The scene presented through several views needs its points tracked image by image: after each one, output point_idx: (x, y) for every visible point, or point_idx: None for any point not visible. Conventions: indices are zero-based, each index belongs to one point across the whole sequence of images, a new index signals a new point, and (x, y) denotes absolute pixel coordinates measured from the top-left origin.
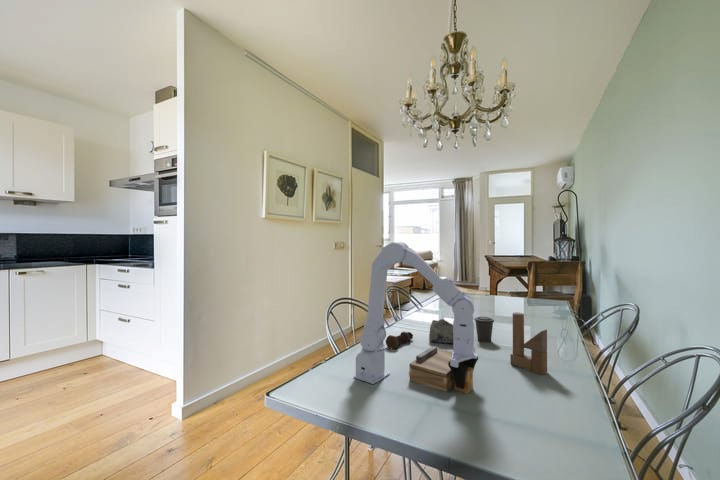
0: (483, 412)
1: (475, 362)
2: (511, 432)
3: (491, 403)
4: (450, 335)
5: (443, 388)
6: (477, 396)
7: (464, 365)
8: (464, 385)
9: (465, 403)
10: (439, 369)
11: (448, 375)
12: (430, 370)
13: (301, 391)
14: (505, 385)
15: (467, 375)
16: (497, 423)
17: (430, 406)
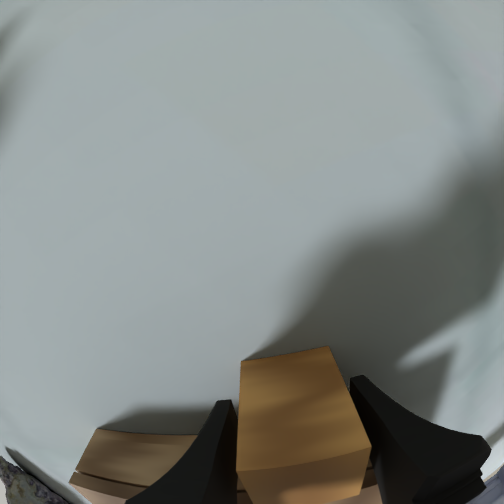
0: (455, 181)
1: (184, 500)
2: (475, 51)
3: (347, 186)
4: (26, 493)
5: None
6: (324, 293)
7: (436, 490)
8: (356, 386)
9: (435, 291)
10: (374, 502)
11: (366, 468)
12: None
13: (486, 471)
14: (51, 242)
15: (362, 429)
16: (475, 102)
17: (496, 351)
